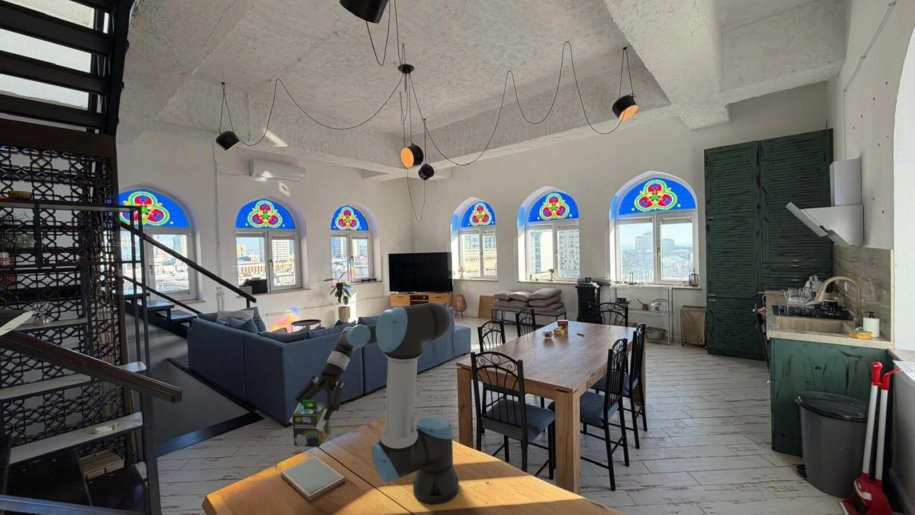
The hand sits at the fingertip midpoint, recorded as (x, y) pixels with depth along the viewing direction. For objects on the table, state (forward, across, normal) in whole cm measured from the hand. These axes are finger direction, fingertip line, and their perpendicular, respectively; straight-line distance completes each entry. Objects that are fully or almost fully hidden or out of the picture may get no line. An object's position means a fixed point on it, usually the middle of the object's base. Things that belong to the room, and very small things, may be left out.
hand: (305, 426), depth 131 cm
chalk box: (+3, 0, -7) cm, 7 cm away
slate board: (+12, +1, -17) cm, 21 cm away
